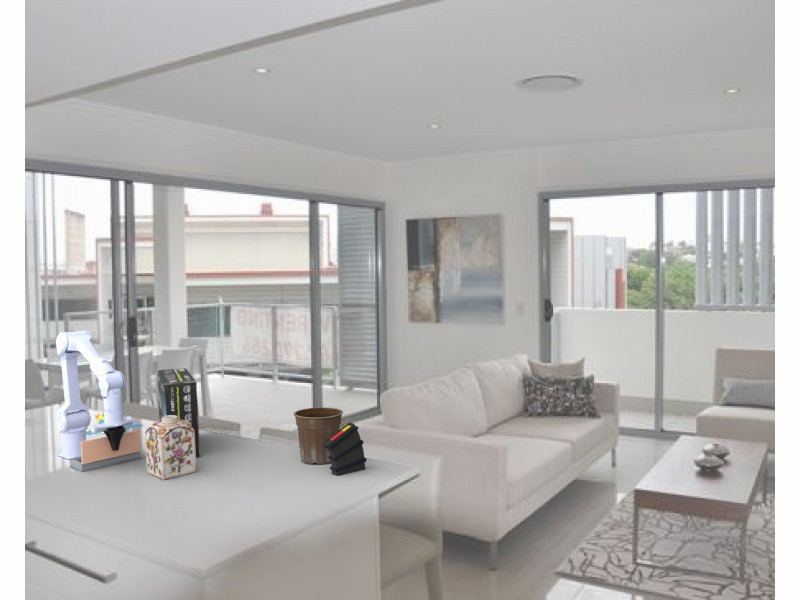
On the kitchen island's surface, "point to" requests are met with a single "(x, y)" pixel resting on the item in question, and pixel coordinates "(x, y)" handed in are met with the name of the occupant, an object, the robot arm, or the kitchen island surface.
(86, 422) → the robot arm
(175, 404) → the router box
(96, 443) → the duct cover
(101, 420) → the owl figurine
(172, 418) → the decorative jar
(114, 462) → the cable duct
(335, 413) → the plant pot
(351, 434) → the magazine
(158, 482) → the kitchen island surface
